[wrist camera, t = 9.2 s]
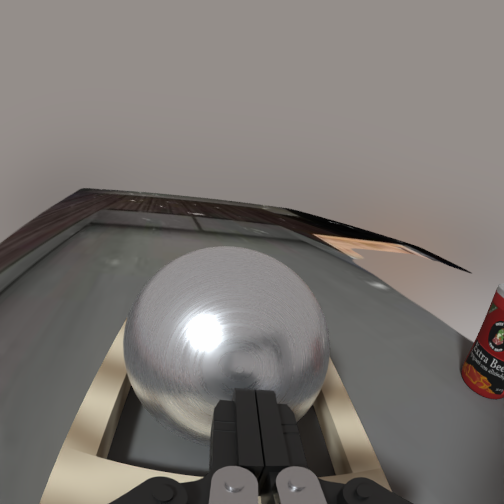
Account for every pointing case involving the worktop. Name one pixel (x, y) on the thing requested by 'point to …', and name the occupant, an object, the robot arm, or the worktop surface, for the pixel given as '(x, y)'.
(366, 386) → the worktop surface
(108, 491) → the hole board
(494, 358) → the canned food
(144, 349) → the ball
